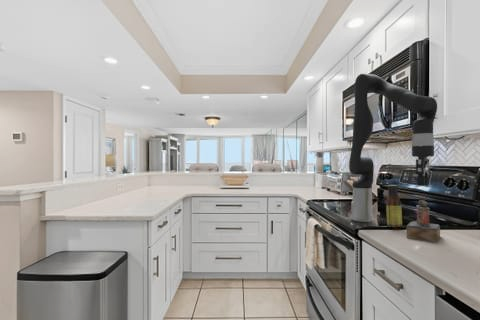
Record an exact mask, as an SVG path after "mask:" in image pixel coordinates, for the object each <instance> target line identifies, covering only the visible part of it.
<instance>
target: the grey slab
mask: <svg viewBox="0 0 480 320" xmlns="http://www.w3.org/2000/svg"><path fill="white" fill-rule="evenodd" d="M429 225H430V227H422V226H420V225H418V224H417V223H416V220H415V221H410V222H409V223H408V224H407V225H406V227H405V228H406V230H405V231H406V235H405V236H406V238H408V239H414V240H420V241H424V242H432V243H438V241H439V239H440V238H441V226H440V224H437V223H430V222H429Z"/></svg>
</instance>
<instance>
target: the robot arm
mask: <svg viewBox="0 0 480 320" xmlns="http://www.w3.org/2000/svg"><path fill="white" fill-rule="evenodd" d="M353 88H354V91H353V92H354V111H353V112H354V114H353V115H354V116H353V124H352V128H353V129H352V140H351V141H352V142H351V150H350V156H349V163H348V170H349V172H350V174H351V175H353V176H354V175H355V176H356V175H357V176H359V175H360V177H359V179H357V180H355V181H353V182H352V201H351V202H350V203H351V205H350V206H351V211H350V212H351V221H355V222H358V223H359V222H360V223H361V222H362V223H370V222H371V223H372V222H373V183H374V172H375V171H374V167H375V165H374V161H373V159H372V158H370V157H369V156H365V157H364V156H362V151H363V148H364V146H365V144H366V143H367V142H368V140H369V139H370V138H371V136H372V134H373V129H374V116H373V114H372V112H371V109H370V106H369V103H368V94H377V95H382V96H384V97H385V99H387V100H388V101H390V102H391V103H394V104H396V105H398V106H400V107H403V108H404V109H405V110H407V111H409V112H411V113H413V114H419V115H418V118H417V119H416V120H414V121H413V122H412V137H411V156H412V157H415V158H416V159H415V175H416V176H417V186H422V187H423V186H425V185H427V184H428V183H429V175H430V159H429V158H431V157H434V156H435V137H434V122H435V119H436V116H437V112H438V102H437V100H436V99H435V98H434V97H432V96H428V95H427V96H425V95H419V94H416V93H414V92H413V91H412V90H410V89H407V88H404V87H401V86H398V85H395V84H393V83H390V82H388V81H386V80H385V79H384V78H382V77H380V76H379V75H376V74H372V73H360V74H359V75H357V76H356V78H355V81H354V87H353ZM428 157H429V158H428ZM417 158H418V159H417Z"/></svg>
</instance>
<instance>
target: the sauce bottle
mask: <svg viewBox="0 0 480 320" xmlns="http://www.w3.org/2000/svg"><path fill="white" fill-rule="evenodd" d="M398 188H399V187H398V185H397V184H388V185H387V191H388V195H387V197H386V199H385V200H386V201H385V204H386V205H385V207H386V208H385V210H386V224H387V227H388V226H390V227H402V228H403V213H402V202H401V199H400V196H399V193H398ZM390 227H389V228H390Z"/></svg>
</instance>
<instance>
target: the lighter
mask: <svg viewBox="0 0 480 320" xmlns="http://www.w3.org/2000/svg"><path fill="white" fill-rule="evenodd" d="M415 222H416V223H417V224H418V225H420V226H422V227H430V225H429V223H430V207H428V202H427V201H425V200H420V199H419V200H418V204H416V220H415Z"/></svg>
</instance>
